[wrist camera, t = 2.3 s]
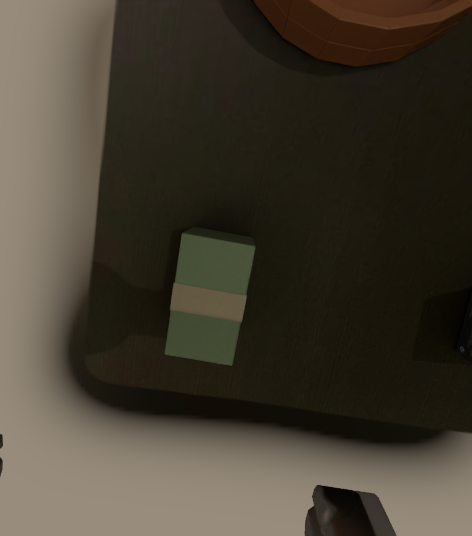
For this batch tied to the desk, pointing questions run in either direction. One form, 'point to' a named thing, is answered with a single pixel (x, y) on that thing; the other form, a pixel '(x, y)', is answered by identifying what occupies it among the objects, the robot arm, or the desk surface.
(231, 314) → the package
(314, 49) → the bowl
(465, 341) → the small box
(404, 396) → the desk surface
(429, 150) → the desk surface
